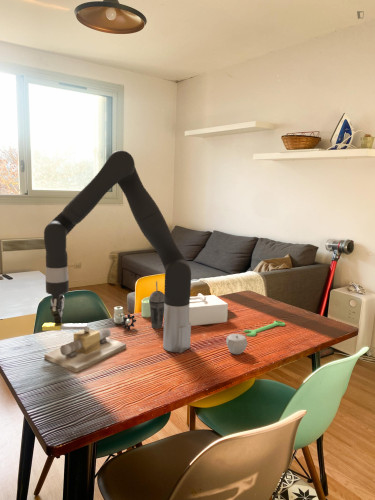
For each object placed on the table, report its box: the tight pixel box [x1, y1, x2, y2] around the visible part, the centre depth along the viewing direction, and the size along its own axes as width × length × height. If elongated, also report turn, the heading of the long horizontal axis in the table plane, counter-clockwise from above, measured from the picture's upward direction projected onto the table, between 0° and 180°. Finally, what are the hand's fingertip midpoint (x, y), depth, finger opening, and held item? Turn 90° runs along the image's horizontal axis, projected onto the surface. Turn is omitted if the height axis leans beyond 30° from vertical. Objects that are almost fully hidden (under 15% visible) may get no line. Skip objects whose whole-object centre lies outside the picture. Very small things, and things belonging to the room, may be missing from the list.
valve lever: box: [41, 322, 90, 333], centre depth 129 cm, size 15×3×3 cm, turn 96°
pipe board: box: [43, 327, 127, 373], centre depth 131 cm, size 16×23×8 cm
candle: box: [141, 296, 151, 318], centre depth 171 cm, size 5×5×8 cm
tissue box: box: [189, 293, 229, 327], centre depth 169 cm, size 14×25×11 cm, turn 112°
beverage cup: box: [149, 280, 164, 330], centre depth 157 cm, size 7×7×20 cm
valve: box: [113, 306, 137, 331], centre depth 159 cm, size 7×7×12 cm
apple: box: [225, 333, 248, 355], centre depth 136 cm, size 8×8×7 cm
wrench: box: [243, 320, 286, 337], centre depth 161 cm, size 25×2×5 cm
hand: (58, 326), depth 132 cm, fingers closed
